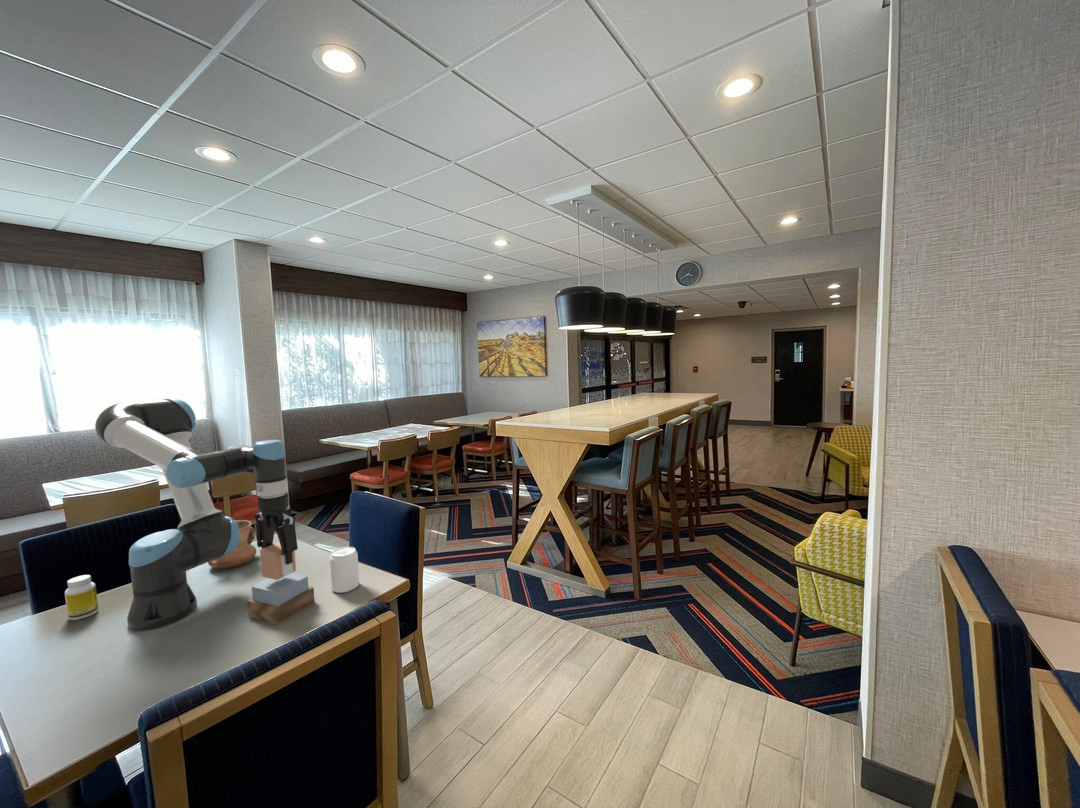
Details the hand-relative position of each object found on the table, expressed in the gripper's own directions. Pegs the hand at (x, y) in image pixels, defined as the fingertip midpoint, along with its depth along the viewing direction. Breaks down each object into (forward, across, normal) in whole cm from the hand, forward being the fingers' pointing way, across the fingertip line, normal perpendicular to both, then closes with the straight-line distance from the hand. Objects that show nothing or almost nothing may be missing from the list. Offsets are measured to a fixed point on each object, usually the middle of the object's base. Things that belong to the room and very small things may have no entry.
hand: (279, 572), depth 127 cm
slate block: (+7, 0, 0) cm, 7 cm away
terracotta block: (0, 0, 0) cm, 0 cm away
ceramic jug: (+11, -45, +16) cm, 49 cm away
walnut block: (+12, 0, 0) cm, 12 cm away
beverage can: (+12, +8, +16) cm, 21 cm away
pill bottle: (+11, -53, -22) cm, 59 cm away
